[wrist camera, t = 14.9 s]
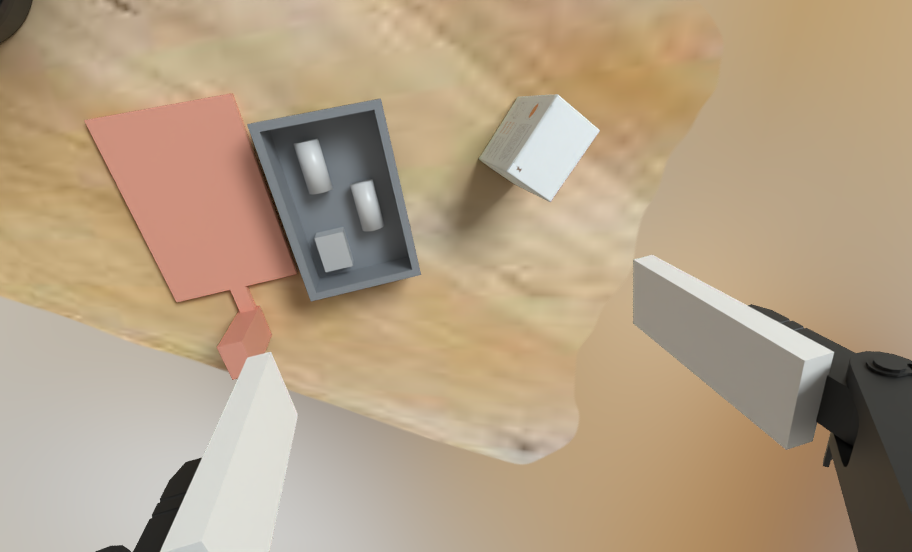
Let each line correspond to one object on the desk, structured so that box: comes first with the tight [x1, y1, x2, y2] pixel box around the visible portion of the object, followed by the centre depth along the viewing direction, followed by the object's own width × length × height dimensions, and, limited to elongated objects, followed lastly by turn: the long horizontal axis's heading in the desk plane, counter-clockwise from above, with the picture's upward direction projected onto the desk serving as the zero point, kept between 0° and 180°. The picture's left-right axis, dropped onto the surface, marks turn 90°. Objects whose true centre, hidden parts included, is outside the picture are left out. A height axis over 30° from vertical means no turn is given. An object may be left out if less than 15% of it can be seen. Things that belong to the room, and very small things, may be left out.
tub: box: [247, 99, 421, 301], centre depth 44 cm, size 18×12×5 cm, turn 10°
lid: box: [84, 94, 297, 380], centre depth 41 cm, size 26×13×8 cm, turn 10°
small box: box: [479, 94, 600, 202], centre depth 43 cm, size 8×6×10 cm
